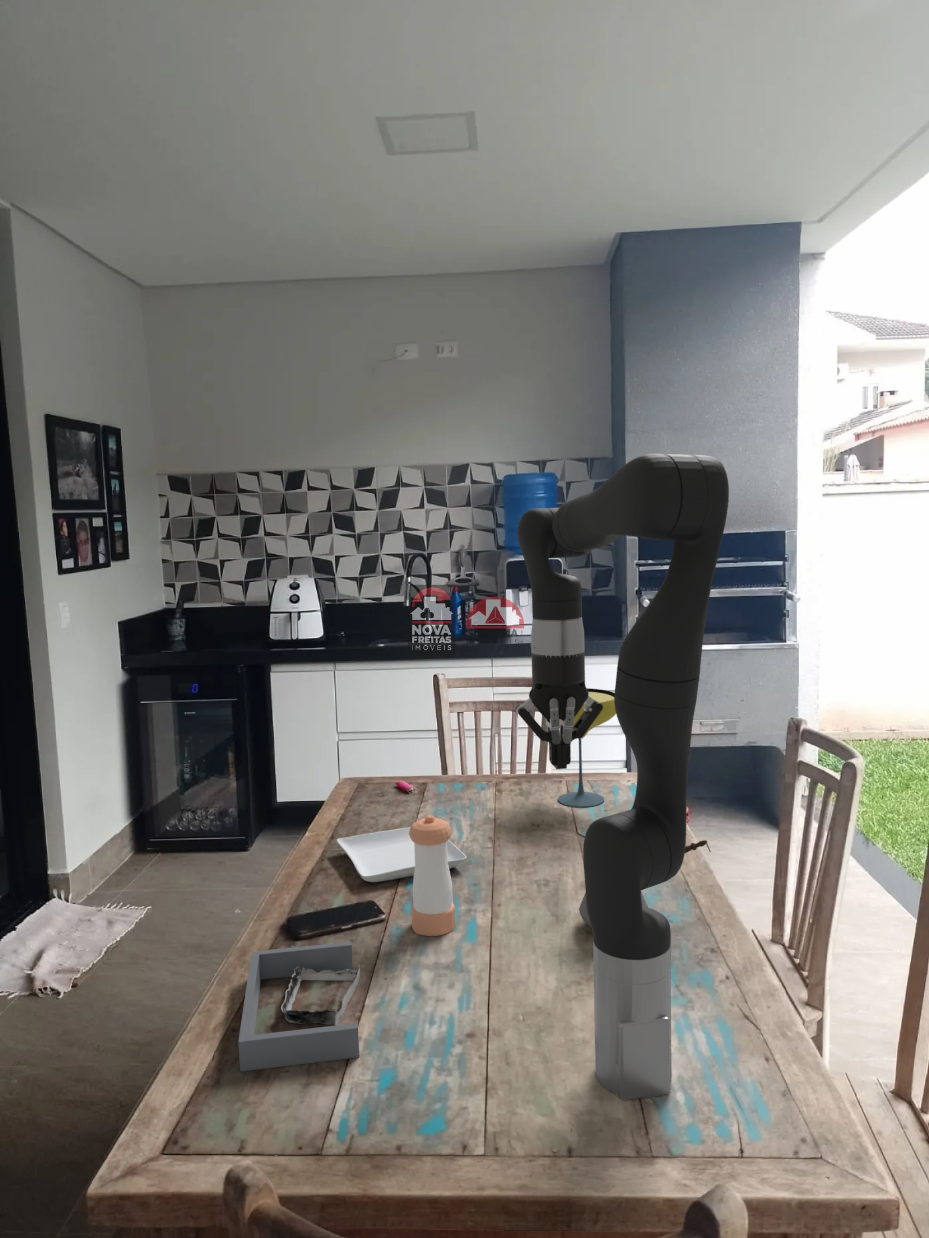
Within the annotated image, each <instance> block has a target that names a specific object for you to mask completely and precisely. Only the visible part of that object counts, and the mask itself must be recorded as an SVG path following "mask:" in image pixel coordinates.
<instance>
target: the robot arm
mask: <svg viewBox="0 0 929 1238" xmlns="http://www.w3.org/2000/svg"><path fill="white" fill-rule="evenodd" d="M728 479H729V478H728V474H727V471H726V469H725V466H724V464H723V463H722V461H720V460H719V459H718V458H717V457H714V456H712V455H711V456H710V455H704V454H702V455H701V454H678V453H677V454H676V453H647V454H642V455H640V456H639V455H638V456H637V457H635V458H633V459H632V460H630V461H628V462H627V463H625V464H624V465H623V466H622V467H620V468H619V469H618V470H616V472H614V473H613V474H612V475H611V476H610V477H609V478H608V479H606V480H605V481H604V482H603V483H602V484H601V485H600V486H598V487H597V488H596V489H594V490H593V491H591V492H588V493H586V494H583V495H580V496H578V497H575V498H573V499H570V500H569V501H567V502H565V503H564V504H562V505H561V506H560V507H548V508H546V507H545V508H544V507H543V508H541V507H540V508H531V509H527V510H526V511H525V512H524V513H523V514H522V516H521V518H520V519H519V522H518V524H517V540H518V545H519V548H520V551H521V554H522V558H523V560H524V564H525V567H526V571H527V575H528V579H529V583H530V589H531V601H532V602H531V605H532V607H531V612H532V613H531V614H532V621H531V623H532V624H531V631H530V632H531V633H530V649H531V679H532V681H531V688H530V690H529V692H528V693H529V694H528V698H527V699H526V701H524V702H523V703H522V704H517V705H516V706H515V707H514V708H515V709H514V710H515V712H516V713H517V714H518V715H519V717H520V718H521V719H522V720H523V722H524V723H525V724H526V725H527V726H528V728H530V730H531V731H532V732H533V733H534V734H535V735H536V736H537V737H538V738H539V740H540V741H542V742H547V743H548V756H549V757H548V759H549V762H550V764H551V765H552V766H553V767H554V769H556V770H564V769H565V770H567V768H568V765H570V764H571V761H572V760H571V759H572V757H571V755H572V754H571V752H572V751H571V744H572V742H573V741H575V740H577V739H578V740H579V739H580V738H582V737H583V736H584V734H585V733H586V732H587V730H588V729H589V727H590V726H591V725H592V723H593V722H594V721H595V719H596V718H597V716H598V715H599V714H600V712H601V711H602V709H603V705H602V704H601V703H600V702H598V701H596V700H594V699H592V698H591V697H589V692H588V690H587V688H588V687H587V686H586V661H585V660H586V659H585V657H586V656H585V654H586V653H585V629H584V623H583V602H582V601H583V597H582V596H583V595H582V594H583V593H582V583H581V580H580V579H579V578H578V577H577V576H575V575H570V574H565V573H558V572H555V571H554V569H553V568H552V566H551V563H550V561H549V559H561V558H562V559H564V558H566V559H567V558H578V557H583V556H587V555H589V553H591V551H592V550H593V551H594V550H596V549H600V548H604V547H606V546H608V545H611V544H612V543H614V542H616V541H617V540H618V539H619V538H620V536H626V537H634V538H640V539H645V540H650V541H673V549H672V553H671V557H670V561H669V565H668V569H667V572H666V574H665V576H664V577H665V578H664V579H663V582H662V584H661V585H660V588H659V589H658V591H657V592H656V594H654V597H653V598H652V599H651V601H650V602H649V604H648V605H647V606H646V607H645V608H644V610H643V612H642V613H641V615H640V616H639V617H638V618H637V620H636V621H635V623H634V624H633V626H632V627H631V629H630V630H629V632H628V633H627V634H626V636H625V638H624V640H623V642H622V644H621V647H620V649H619V653H618V659H617V667H616V676H615V687H614V693H615V695H614V705H615V711H616V715H615V716H616V718H617V721H618V722H619V726H620V728H621V730H622V733H623V734H624V736H625V738H626V740H627V742H628V744H629V746H630V748H631V751H632V753H633V755H634V758H635V761H636V772H637V776H636V786H635V787H636V790H635V797H634V801H633V805H632V807H631V809H627V810H625V811H624V810H623V811H621V812H617V813H614V814H611V815H607V816H603V817H601V818H597V819H596V820H594V821H592V823H590V825H589V826H588V827H587V830H586V831H585V835H584V840H583V848H582V856H583V857H582V860H583V862H582V863H583V873H584V874H583V875H584V885H585V886H584V887H585V889H584V890H585V892H586V905H587V912H588V916H589V920H590V923H591V926H592V928H591V929H592V942H593V944H592V945H593V948H592V949H593V998H594V999H593V1004H594V1005H593V1007H594V1011H593V1012H594V1013H593V1016H594V1019H593V1020H594V1021H593V1022H594V1062H595V1063H594V1065H595V1066H594V1067H595V1076H596V1077H595V1078H596V1079H597V1081H598V1082H599V1084H600V1085H602V1086H603V1087H604V1088H605V1089H606V1090H608V1091H610V1092H612V1093H614V1094H616V1095H617V1096H618V1097H619V1099H620V1100H622V1101H625V1100H633V1099H634V1100H635V1099H641V1098H649V1097H656V1096H664V1095H669V1094H671V1083H672V1078H673V1077H672V1075H673V1074H672V1073H673V1072H672V1071H673V1069H672V1066H673V1065H672V971H671V970H672V950H671V949H672V946H671V945H672V942H671V941H672V935H671V934H672V932H671V931H672V929H671V925H670V921H669V920H668V918H667V917H666V916H665V915H664V914H663V913H661V912H659V911H658V910H656V909H653V908H651V907H649V906H648V907H645V906H642V900H641V892H642V891H643V890H646V889H648V888H652V887H655V886H657V885H660V884H663V883H666V882H668V881H670V880H671V879H672V878H673V877H675V876H676V875H677V874H678V872H680V870H681V867H682V865H683V862H684V859H685V855H686V853H685V846H687V803H688V802H687V799H688V798H687V797H688V791H687V790H688V775H689V774H688V771H689V764H690V763H689V762H690V753H691V741H692V731H693V724H694V723H693V722H694V716H695V711H696V706H697V705H696V704H697V698H698V690H699V683H700V674H701V665H702V652H703V644H704V637H705V636H704V635H705V630H706V619H707V613H708V608H709V602H710V597H711V591H712V585H713V581H714V575H715V572H716V566H717V563H718V559H719V554H720V549H721V546H722V541H723V536H724V531H725V528H726V523H727V522H726V521H727V516H728V509H729V502H730V500H729V499H730V497H729V496H730V489H729V487H730V486H729V480H728ZM584 703H585V704H584ZM583 704H584V707H583V708H584V710H585V711H584V712H583V713H582V715H581V716H580V718H579V719H578V720H577V722H576V723H575V725H574V717H575V716H576V715H577V713H578V712H579V710H580V709H581V707H582V706H583ZM534 707H535V709H537V710H538V712H539V713H540V714H541V715H542V717H543V718H544V719H545V724H546V730H545V729H543V728H542V727H541V726H540V724H539V723H538V722H537V721H536V719H535V718H534V716H535V710H534ZM559 723H560V724H559ZM573 725H574V726H573ZM582 739H583V738H582Z"/></svg>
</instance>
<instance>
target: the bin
mask: <svg viewBox="0 0 929 1238" xmlns="http://www.w3.org/2000/svg"><path fill="white" fill-rule="evenodd" d="M250 953H251V954H250V961H249V968H248V973H247V974H248V975H247V980H246V981H247V982H246V987H245V994H244V1001H243V1009H242V1016H241V1021H240V1022H241V1023H240V1028H239V1033H238V1054H239V1055H238V1056H239V1058H238V1059H239V1070H240V1072H247V1071H249V1072H250V1071H255V1070H264V1069H272V1068H274V1069H275V1068H280V1067H282V1068H283V1067H289V1066H297V1065H306V1064H314V1063H323V1062H329V1061H339V1060H347V1059H354V1058H357V1059H358V1058H360V1043H359V1042H360V1039H359V1038H360V1037H359V1026H358V1025H359V1024H358V1022H357V1023H356V1022H355V1023H347V1024H346V1023H345V1024H337V1025H329V1026H322V1027H321V1026H320V1027H312V1028H305V1029H304V1028H303V1029H294V1030H287V1031H277V1032H270V1033H269V1032H268V1033H260V1034H256V1033H255V1031H256V1026H257V1016H258V1015H257V1014H258V1007H259V1000H260V991H261V982H262V981H261V980H269V979H270V980H271V979H282V978H290V977H291V978H292V975H293V974H294V973H295V971H294V969H295V968H296V967H297V966H299V967H300V969H301V968H305V970H306V969H307V968H308V969H312V970H314V971H315V972H317V973H319V972H320V971H323V970H325V971H326V970H332V971H335V972H338V971H342V970H345V969H350V970H353V971H354V969H353V967H354V965H353V947H352V941H343V942H333V943H325V944H324V943H323V944H315V945H305V946H296V947H295V946H294V947H285V948H275V949H264V950H256V951H251V952H250Z"/></svg>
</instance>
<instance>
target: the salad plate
mask: <svg viewBox="0 0 929 1238" xmlns="http://www.w3.org/2000/svg"><path fill="white" fill-rule="evenodd" d="M410 828H411V826H409V827H401V828H396V829H395V828H394V829H388V830H382V831H375V832H371V833H370V832H369V833H362V834H357V835H352V836H346V837H340V838H337V839H336V844H338V846H339V847H340V848H341V850H342V851H343V852H344V853H345V855H347V856H348V857H349V860H351V862H352V863H353V866H354V868H355V870H356V872H357V874H358V875H359V877H360V878H361V879H363V881H366V882H369V883H379V882H386V881H387V882H388V881H391V880H392V881H394V880H397V879H403V878H409V877H414V871H415V849H414V842H413V841H412V840H411V838H410V835H409V831H410ZM447 852H448V866H449V870H450V869H453V868H455V867H458V866H460V865H462V864H463V863H464V862H465V861H466V860H467V855H466V854H465V853H464V852H463V851H462V850H461V849H459V848H458V847H457V846H456V845H455V844H454V843H453V842H452V841H451V840H450V839H449V840H448V841H447Z"/></svg>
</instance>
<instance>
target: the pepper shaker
mask: <svg viewBox="0 0 929 1238" xmlns="http://www.w3.org/2000/svg"><path fill="white" fill-rule="evenodd" d="M410 827H411V828H410V831H409V835H410V838H411V840H412V841H413V842H414V849H415V871H414V876H413V880H412V898H413V899H412V900H413V904H412V906H411V927H412V928H411V929H412V931H413V932H415V933H416V934H418V935H421V936H424V937H425V936H427V937H436V936H437V937H438V936H443V935H447V934H449V933H450V932H453V930H454V929H455V928H456V906H455V904H454V902H453V882H452V881H453V880H452V877H451V871H450V869H449V866H448V852H447V841H448V840H450V838H451V836H452V827H451V826H450V824H449V823H448V822H447V821H446V820H443V819H441V818H437V817H434V816H433V815H427V816H425V817H424V818H421V819H418V820H417V821H414V822H413V823H412V824H411V826H410Z"/></svg>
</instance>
